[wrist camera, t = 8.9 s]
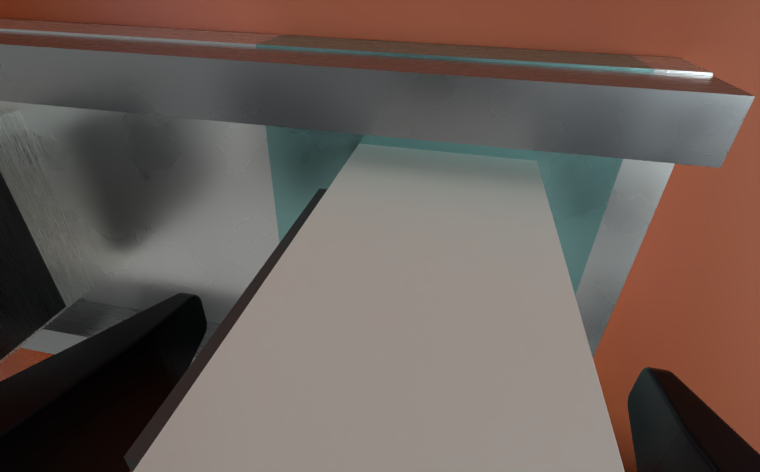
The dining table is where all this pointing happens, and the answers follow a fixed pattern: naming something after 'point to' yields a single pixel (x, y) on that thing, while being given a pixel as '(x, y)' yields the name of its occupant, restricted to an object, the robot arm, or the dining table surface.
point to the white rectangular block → (399, 336)
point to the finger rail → (302, 155)
